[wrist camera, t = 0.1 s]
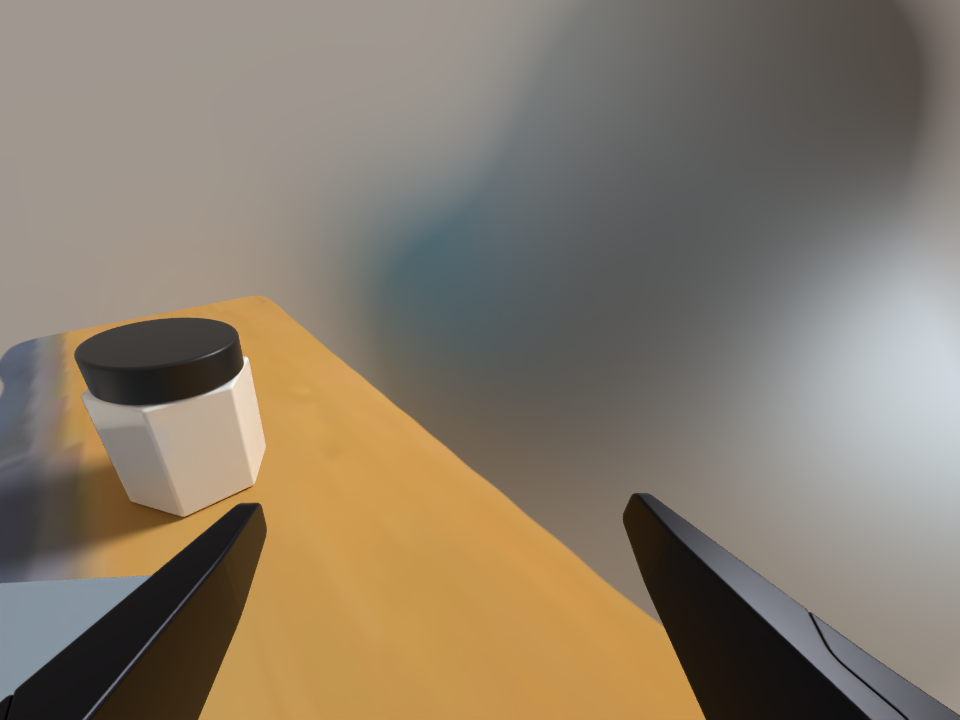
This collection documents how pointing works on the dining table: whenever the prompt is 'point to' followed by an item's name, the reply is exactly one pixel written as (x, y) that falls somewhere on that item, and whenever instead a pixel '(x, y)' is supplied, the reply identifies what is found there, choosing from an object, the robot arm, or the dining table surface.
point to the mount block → (50, 620)
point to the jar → (174, 410)
